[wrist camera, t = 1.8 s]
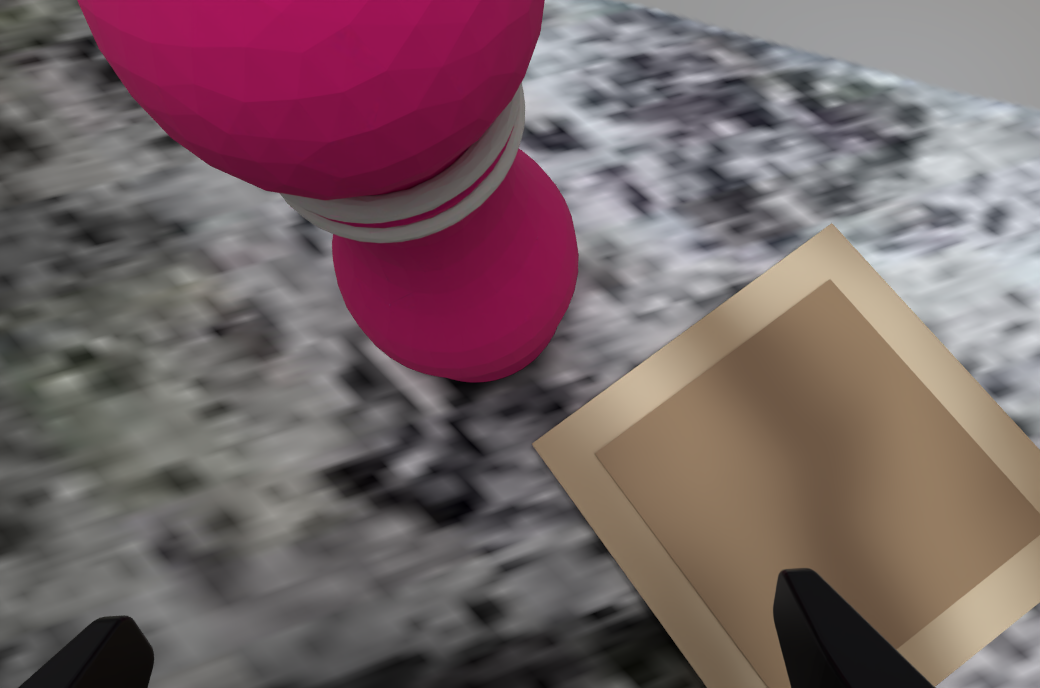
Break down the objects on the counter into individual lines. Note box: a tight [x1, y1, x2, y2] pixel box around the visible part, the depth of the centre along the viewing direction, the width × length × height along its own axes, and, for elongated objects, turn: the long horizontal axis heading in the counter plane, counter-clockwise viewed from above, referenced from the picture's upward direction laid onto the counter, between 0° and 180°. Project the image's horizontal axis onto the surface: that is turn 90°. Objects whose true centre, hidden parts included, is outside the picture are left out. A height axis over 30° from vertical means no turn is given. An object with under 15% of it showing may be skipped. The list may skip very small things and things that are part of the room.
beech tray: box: [532, 224, 1040, 688], centre depth 22 cm, size 13×13×1 cm
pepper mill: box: [78, 0, 578, 382], centre depth 15 cm, size 7×7×20 cm
